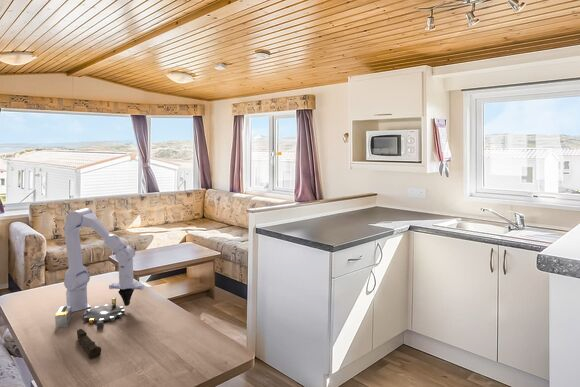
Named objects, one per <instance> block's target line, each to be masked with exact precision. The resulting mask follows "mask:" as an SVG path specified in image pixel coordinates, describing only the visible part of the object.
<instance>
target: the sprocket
mask: <svg viewBox="0 0 580 387" xmlns="http://www.w3.org/2000/svg"><path fill="white" fill-rule="evenodd" d="M125 313H126V308H124V306H123V305H121V306H118V304H117V297H112V298H111V304H110V305H109V304H104V305H100V306H98V305H97V306H94V307H93V308H91V309H89V308H87V310H86V309H85V312H83V313H82V320H83V322H88V323H89V324H94V323H97V321H98V320H103V322H104V323H105V322H114V321H115V319H117V318H118V319H121V318H122V317H123V315H124V314H125Z"/></svg>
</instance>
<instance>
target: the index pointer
mask: <svg viewBox="0 0 580 387" xmlns="http://www.w3.org/2000/svg"><path fill="white" fill-rule="evenodd" d="M104 323H105V322H103V320H98V321H97V322H96V330H103V329H104V325H105V324H104Z"/></svg>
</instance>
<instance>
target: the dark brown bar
mask: <svg viewBox="0 0 580 387" xmlns="http://www.w3.org/2000/svg"><path fill="white" fill-rule="evenodd" d="M76 334H77V335H76V336H77V342H78V345H79V346H82V348H83V349H84V350H85V352H86V353H87V354H88V358H89V359H90V360H93V359H97V358H99V357H100V356H101V354H102V347H100V346H98V345H97V344H96V342H95V341H94V340H92V339H91V338H90V337H89V336H88V335H87V332H86V330H84V329H82V328H78V329H77V330H76Z"/></svg>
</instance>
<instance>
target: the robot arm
mask: <svg viewBox="0 0 580 387" xmlns="http://www.w3.org/2000/svg"><path fill="white" fill-rule="evenodd" d="M83 227H84V228H91V230H93V231H94V232H95V233H96V234H97V235H99V236H100V237H101V238H102V239H103V240H104V244H105V246H106V247H108V249H110V251H112V253H114V255H115V256H114V257H115V260H116V261H117V264H118V280H119V282H115V283H112V282H111V283H110V284H108V289H109V290H113V289H114V290H116V289H117V290H118V289H119V290H118V292H117V293H118V294H119V295H120V297H121V299H122V302H123V304H124V306H126V307H128V306H129V305H130V302H131V299H132V296H133V293H134V291H135V290H140V291H143V290H144V289H145V284H143V283H136V282H134V257H135V255H136V251H135V248H134V246H132V245H127V243H125V242H124V241H123V240H122V239H121V238H120V236H119V235H118V234H116V233H111V232H110V231H109V230H108V229H107V227H105V225H104V224H103V223H102V221H100V220H99V219H98V218H97V214H96V213H95V212H93V210H92V209H91V208H88V207H85V208H81V209H76V210H72V211H70V212H69V213H68V214H66V215H65V223H64V226H63V231H64V239H65V246H66V247H65V248H66V255H67V263H68V264H67V265H68V269H67V270H66V271H65V274H64V281H63V285H64V287H65V289H66V292H65V293H66V294H65V296H66V304H65V305H64V306H71V308H72V313H75V312H78V311H82V310H86V309H89V308H91V307H92V305H90V304H89V303H88V283H89V282H90V279H91V276H90V273H89V272H88V268H87V267H86V266H85V265H83V264H84V262H83V255H82V248H81V247H82V246H81V238H80V230H81V229H82V228H83Z"/></svg>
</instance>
